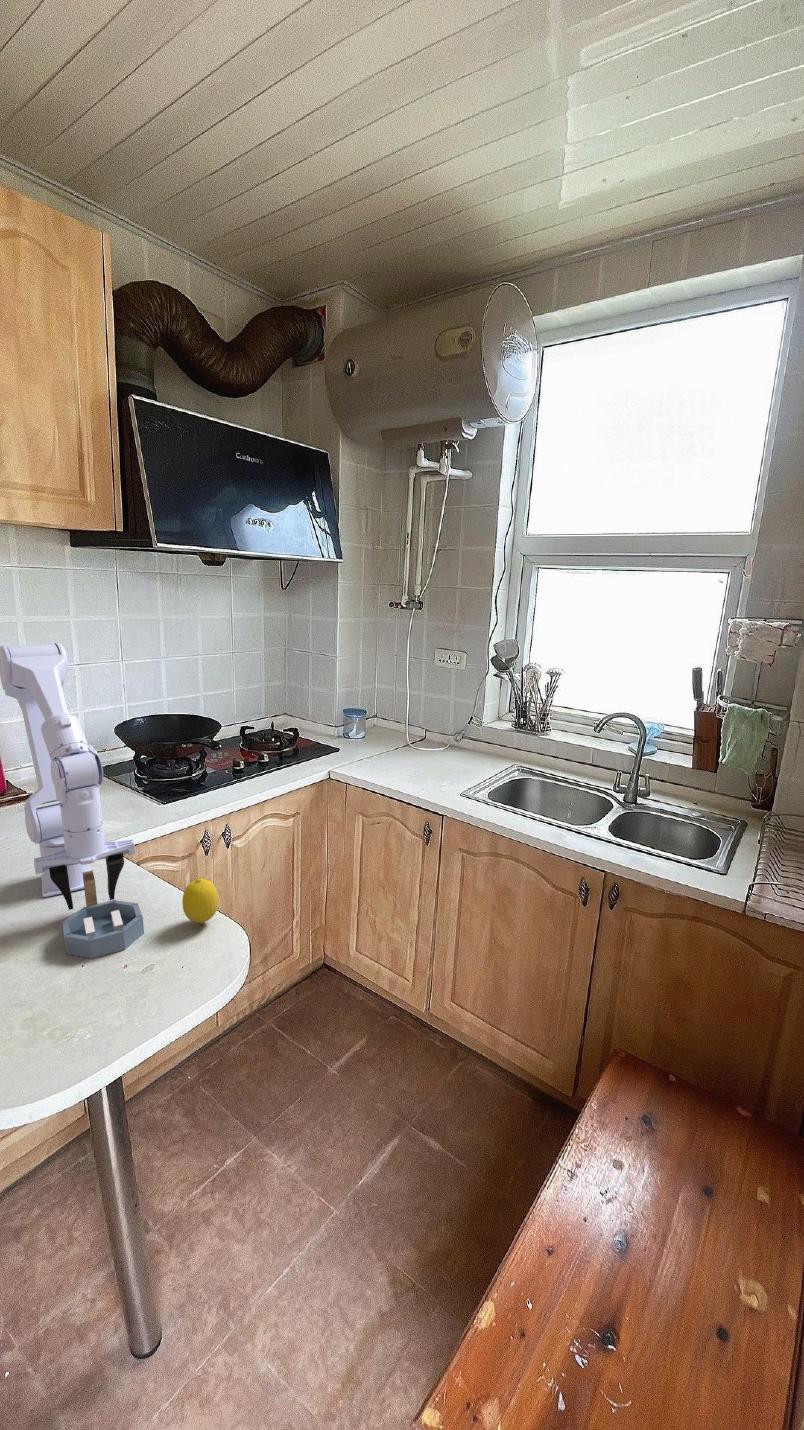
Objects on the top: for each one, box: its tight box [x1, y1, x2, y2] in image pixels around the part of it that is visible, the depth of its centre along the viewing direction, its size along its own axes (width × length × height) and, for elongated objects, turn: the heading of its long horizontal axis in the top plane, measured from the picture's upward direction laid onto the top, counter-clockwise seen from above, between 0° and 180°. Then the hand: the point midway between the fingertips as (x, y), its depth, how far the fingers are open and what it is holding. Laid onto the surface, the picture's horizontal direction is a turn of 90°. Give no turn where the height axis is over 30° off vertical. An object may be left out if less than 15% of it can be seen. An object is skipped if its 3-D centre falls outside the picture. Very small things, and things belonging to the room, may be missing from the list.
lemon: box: [181, 877, 219, 925], centre depth 98 cm, size 6×6×8 cm
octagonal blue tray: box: [61, 899, 145, 960], centre depth 94 cm, size 11×11×3 cm
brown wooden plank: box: [83, 870, 98, 907], centre depth 100 cm, size 4×2×7 cm, turn 31°
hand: (91, 901), depth 100 cm, fingers open, 5 cm apart
